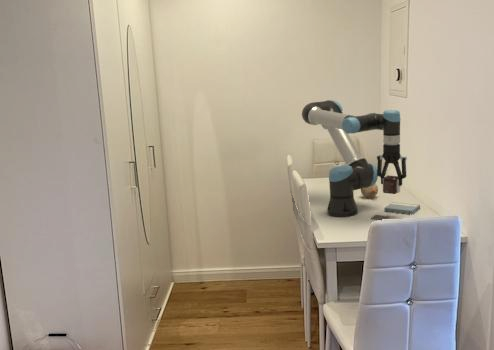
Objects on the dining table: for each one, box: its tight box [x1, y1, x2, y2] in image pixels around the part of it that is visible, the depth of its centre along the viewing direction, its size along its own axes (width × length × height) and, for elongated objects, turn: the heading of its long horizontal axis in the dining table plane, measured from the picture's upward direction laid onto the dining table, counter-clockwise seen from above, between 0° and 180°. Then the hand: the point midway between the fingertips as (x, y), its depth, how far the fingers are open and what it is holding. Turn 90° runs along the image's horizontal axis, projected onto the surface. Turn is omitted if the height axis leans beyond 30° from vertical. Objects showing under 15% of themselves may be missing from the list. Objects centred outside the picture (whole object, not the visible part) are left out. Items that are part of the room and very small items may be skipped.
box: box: [382, 174, 398, 195], centre depth 231 cm, size 6×6×7 cm
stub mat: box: [370, 214, 390, 221], centre depth 233 cm, size 7×6×1 cm
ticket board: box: [383, 202, 421, 216], centre depth 242 cm, size 14×12×2 cm
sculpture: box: [360, 183, 379, 199], centre depth 269 cm, size 9×9×15 cm
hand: (391, 191), depth 232 cm, fingers closed on box, 6 cm apart
